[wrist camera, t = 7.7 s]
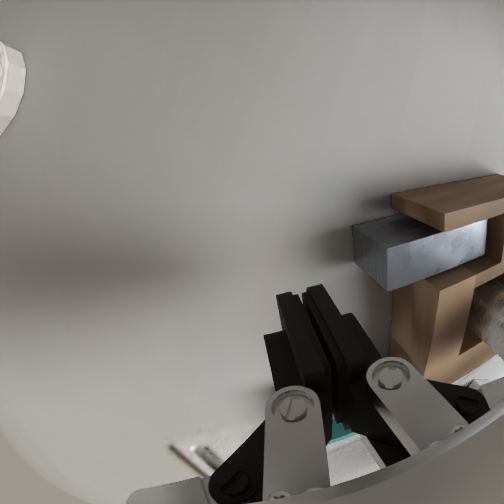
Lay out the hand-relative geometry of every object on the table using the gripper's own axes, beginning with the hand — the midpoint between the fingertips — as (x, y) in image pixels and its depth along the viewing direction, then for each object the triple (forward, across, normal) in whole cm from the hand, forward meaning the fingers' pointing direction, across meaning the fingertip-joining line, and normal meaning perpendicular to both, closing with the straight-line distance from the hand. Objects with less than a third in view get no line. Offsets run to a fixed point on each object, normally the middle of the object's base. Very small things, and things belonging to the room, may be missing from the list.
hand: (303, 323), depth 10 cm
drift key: (+7, -9, +1) cm, 11 cm away
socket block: (+7, -14, +6) cm, 17 cm away
